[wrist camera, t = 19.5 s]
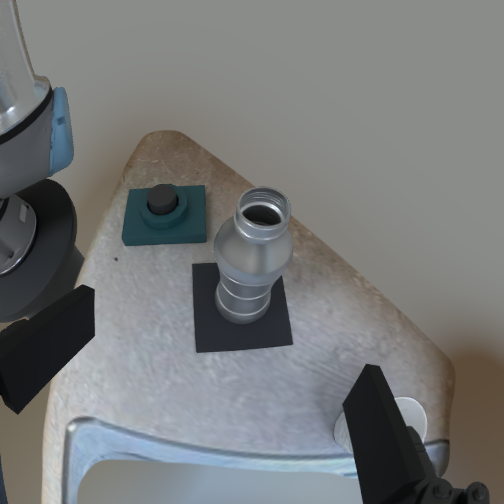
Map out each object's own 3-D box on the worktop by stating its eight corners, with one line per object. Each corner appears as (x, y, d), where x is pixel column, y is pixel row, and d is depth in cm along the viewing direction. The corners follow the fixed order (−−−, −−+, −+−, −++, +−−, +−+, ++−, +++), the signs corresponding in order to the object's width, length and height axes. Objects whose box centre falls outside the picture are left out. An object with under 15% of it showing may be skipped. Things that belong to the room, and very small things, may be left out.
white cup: (380, 396, 32) (426, 390, 23) (381, 449, 28) (427, 455, 19) (328, 404, 31) (365, 403, 23) (328, 460, 27) (365, 476, 19)
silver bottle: (273, 319, 36) (329, 235, 18) (222, 334, 34) (229, 259, 17) (257, 275, 39) (291, 166, 21) (208, 288, 37) (204, 180, 20)
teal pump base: (125, 246, 39) (118, 231, 35) (132, 198, 43) (127, 181, 40) (206, 242, 41) (205, 226, 37) (204, 194, 45) (204, 177, 41)
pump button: (148, 216, 37) (145, 206, 36) (150, 194, 39) (148, 184, 38) (176, 214, 38) (174, 205, 36) (177, 192, 40) (176, 183, 38)
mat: (196, 352, 33) (196, 352, 33) (192, 265, 39) (192, 263, 38) (292, 344, 35) (293, 344, 34) (278, 261, 40) (279, 259, 40)
